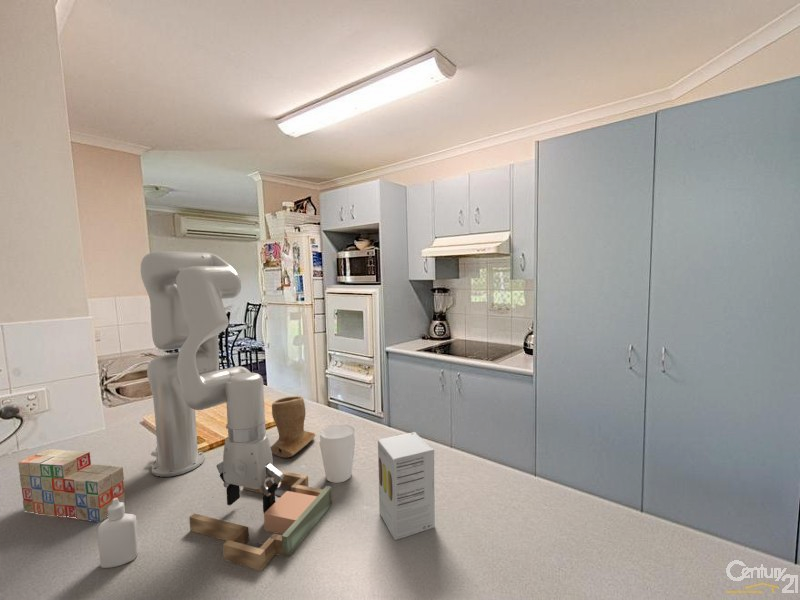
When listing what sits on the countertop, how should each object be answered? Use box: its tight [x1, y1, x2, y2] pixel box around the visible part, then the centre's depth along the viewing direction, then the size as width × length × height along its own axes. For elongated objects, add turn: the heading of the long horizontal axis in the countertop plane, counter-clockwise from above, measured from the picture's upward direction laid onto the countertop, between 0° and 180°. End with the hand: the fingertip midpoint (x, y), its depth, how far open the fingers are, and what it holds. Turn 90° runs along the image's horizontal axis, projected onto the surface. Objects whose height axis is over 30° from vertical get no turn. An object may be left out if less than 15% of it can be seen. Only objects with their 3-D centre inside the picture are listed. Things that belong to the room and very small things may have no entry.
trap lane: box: [188, 470, 333, 571], centre depth 79 cm, size 24×24×4 cm
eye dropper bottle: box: [97, 498, 140, 569], centre depth 67 cm, size 4×6×12 cm
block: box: [263, 491, 317, 535], centre depth 77 cm, size 8×8×4 cm
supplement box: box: [377, 431, 436, 541], centre depth 76 cm, size 10×9×17 cm
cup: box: [319, 423, 356, 484], centre depth 94 cm, size 9×9×12 cm
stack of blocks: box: [17, 448, 126, 523], centre depth 83 cm, size 21×6×12 cm, turn 79°
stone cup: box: [270, 395, 316, 459], centre depth 110 cm, size 15×12×15 cm
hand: (251, 505), depth 80 cm, fingers open, 9 cm apart
